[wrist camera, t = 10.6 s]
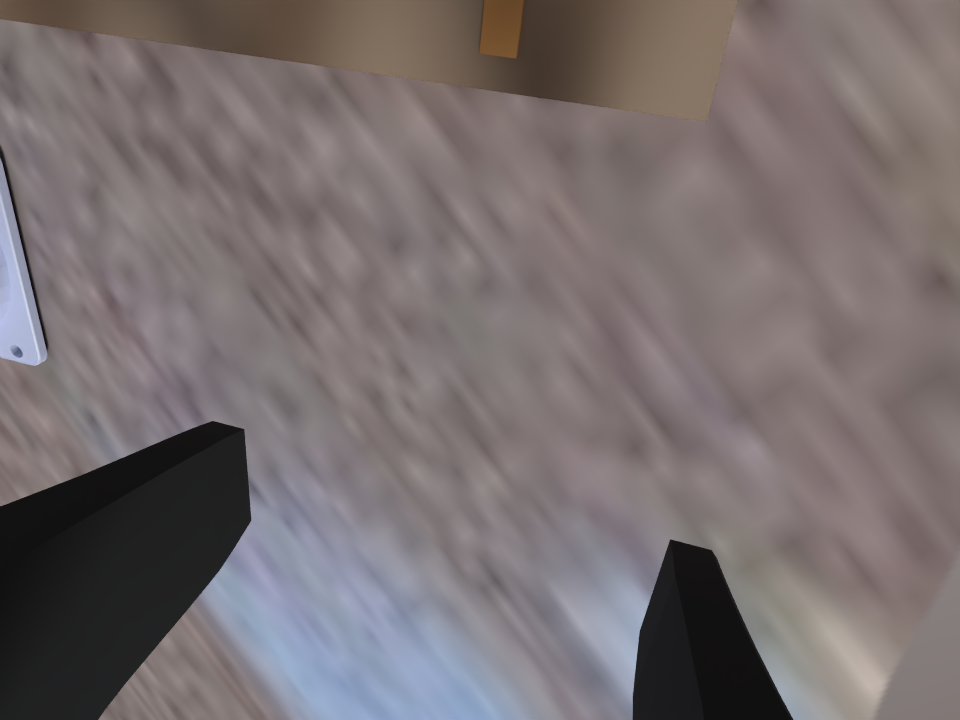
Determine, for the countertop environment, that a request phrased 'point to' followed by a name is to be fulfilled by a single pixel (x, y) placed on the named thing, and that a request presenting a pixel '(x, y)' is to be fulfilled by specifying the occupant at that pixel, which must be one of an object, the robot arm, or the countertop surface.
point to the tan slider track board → (449, 41)
